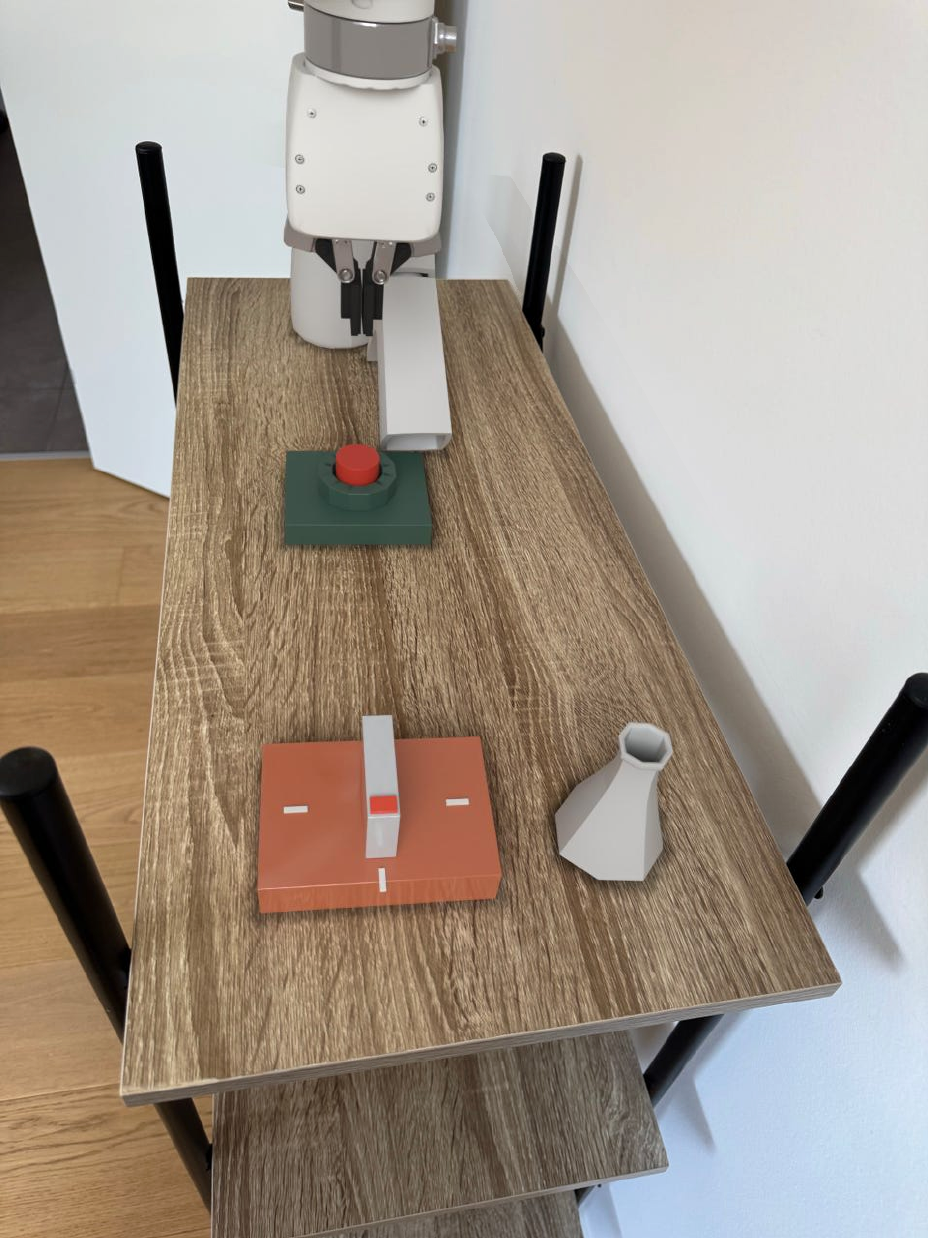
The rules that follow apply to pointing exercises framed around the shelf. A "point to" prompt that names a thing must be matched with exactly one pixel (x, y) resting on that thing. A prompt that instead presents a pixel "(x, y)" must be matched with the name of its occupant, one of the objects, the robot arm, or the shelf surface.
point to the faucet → (411, 361)
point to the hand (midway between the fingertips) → (361, 326)
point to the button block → (356, 502)
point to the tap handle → (379, 787)
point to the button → (357, 464)
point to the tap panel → (334, 827)
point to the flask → (618, 810)
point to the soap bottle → (322, 299)
